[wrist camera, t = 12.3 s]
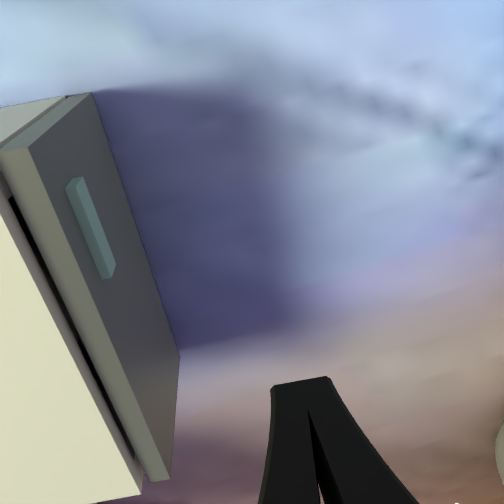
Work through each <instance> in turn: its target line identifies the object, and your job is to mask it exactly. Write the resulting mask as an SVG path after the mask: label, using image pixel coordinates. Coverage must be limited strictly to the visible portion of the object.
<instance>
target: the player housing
mask: <svg viewBox="0 0 504 504" xmlns="http://www.w3.org/2000/svg"><path fill="white" fill-rule="evenodd" d="M65 99H66V97H65V96H60V97H55V98H50V99H44V100H39V101H34V102H28V103H23V104H18V105H13V106H7V107H2V108H0V148H2V147H3V146H4V145H6V144H7V143H8V142H10V141H11V140H12V139H14V138H15V137H16V136H18V135H19V134H20V133H22V132H23V131H24V130H26V129H27V128H28V127H30V126H31V125H32V124H34V123H35V122H36V121H38V120H39V119H40V118H42V117H43V116H44V115H45V114H47V113H48V112H49V111H51V110H52V109H53V108H55V107H56V106H57V105H59V104H60V103H61V102H63V101H64V100H65ZM12 195H13V194H12V192H11V190H10V188H9V185H8V183H7V181H6V179H5V177H4V175H3V173H2V171H1V169H0V504H90V503H96V502H102V501H107V500H113V499H118V498H124V497H129V496H135V495H140V494H141V491H142V483H143V476H144V470H143V468H142V466H141V464H140V461H139V459H138V457H137V455H136V453H135V451H134V449H133V447H132V445H131V443H130V440H129V438H128V436H127V434H126V432H125V430H124V428H123V426H122V424H121V421H120V419H119V417H118V415H117V413H116V411H115V409H114V407H113V405H112V402H111V400H110V398H109V396H108V394H107V392H106V390H105V388H104V386H103V384H102V381H101V379H96V380H95V379H94V377H93V375H92V373H91V371H90V369H89V366H88V364H87V362H86V360H85V358H84V356H83V354H82V352H81V350H80V348H79V346H78V344H77V342H76V340H75V338H74V335H73V333H72V331H71V329H70V327H69V325H68V323H67V321H66V319H65V317H64V315H63V313H62V311H61V309H60V307H59V304H58V302H57V300H56V298H55V296H54V294H53V292H52V290H51V288H50V286H49V284H48V282H47V280H46V278H45V276H44V273H43V271H42V269H41V267H40V265H39V263H38V261H37V259H36V257H35V255H34V253H33V251H32V249H31V247H30V245H29V242H28V240H27V238H26V236H25V234H24V232H23V230H22V228H21V226H20V224H19V222H18V220H17V218H16V216H15V214H14V211H13V209H12V207H11V205H10V203H9V201H8V199H9V198H10V197H11V196H12Z"/></svg>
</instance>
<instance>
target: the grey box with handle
mask: <svg viewBox="0 0 504 504" xmlns="http://www.w3.org/2000/svg"><path fill="white" fill-rule="evenodd" d="M0 169H1V171H2V173H3V175H4V177H5V179H6V181H7V183H8V185H9V188H10V190H11V192H12V194H13V195H12V196H11V197H10V198H9V199H8V201H9V203H10V205H11V207H12V209H13V211H14V214H15V216H16V218H17V220H18V222H19V224H20V226H21V228H22V230H23V232H24V234H30V235H32V236H33V238H34V240H35V242H36V244H37V247H38V249H39V251H40V253H41V255H42V257H43V259H44V261H45V263H46V266H47V268H48V270H49V272H50V274H51V276H52V278H53V280H54V282H55V284H56V287H57V289H58V291H59V293H60V295H61V297H62V299H63V301H64V303H65V306H66V308H67V310H68V312H69V314H70V316H71V318H72V320H73V322H74V325H75V327H76V329H77V331H78V333H79V335H80V337H79V340H78V342H77V344H78V346H79V348H80V350H81V352H82V354H83V356H84V358H85V360H86V362H87V364H88V366H89V369H90V371H91V373H92V375H93V377H94V379H95V380H96V379H101V381H102V384H103V386H104V388H105V390H106V392H107V394H108V396H109V398H110V400H111V402H112V405H113V407H114V409H115V411H116V413H117V415H118V417H119V419H120V421H121V424H122V426H123V428H124V430H125V432H126V434H127V436H128V438H129V440H130V443H131V445H132V447H133V449H134V451H135V453H136V455H137V457H138V459H139V461H140V464H141V466H142V468H143V470H144V472H145V474H146V476H147V478H148V480H149V483H152V482H157V481H163V480H168V479H170V478H171V465H172V452H173V439H174V426H175V413H176V400H177V387H178V375H179V362H180V356H179V353H178V350H177V347H176V344H175V341H174V338H173V335H172V332H171V329H170V326H169V323H168V320H167V317H166V314H165V311H164V308H163V305H162V302H161V299H160V296H159V293H158V290H157V287H156V284H155V281H154V278H153V275H152V272H151V269H150V266H149V263H148V260H147V257H146V254H145V251H144V248H143V245H142V242H141V239H140V236H139V233H138V230H137V227H136V224H135V221H134V218H133V215H132V212H131V209H130V206H129V203H128V200H127V197H126V194H125V191H124V188H123V185H122V182H121V179H120V176H119V173H118V170H117V167H116V164H115V161H114V158H113V155H112V152H111V149H110V146H109V143H108V140H107V137H106V134H105V131H104V128H103V125H102V122H101V119H100V116H99V113H98V110H97V107H96V104H95V101H94V98H93V95H92V92H90V93H85V94H79V95H74V96H69V97H68V98H67V99H65V100H64V101H63V102H61V103H60V104H59V105H57V106H56V107H55V108H53V109H52V110H51V111H49V112H48V113H47V114H45V115H44V116H43V117H42V118H40V119H39V120H38V121H36V122H35V123H34V124H32V125H31V126H30V127H28V128H27V129H26V130H24V131H23V132H22V133H20V134H19V135H18V136H16V137H15V138H14V139H12V140H11V141H10V142H8V143H7V144H6V145H4V146H3V147H2V148H0Z"/></svg>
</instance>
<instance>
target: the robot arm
mask: <svg viewBox="0 0 504 504" xmlns="http://www.w3.org/2000/svg"><path fill="white" fill-rule="evenodd" d="M270 393H271V420H270V432H269V442H268V449H267V455H266V462H265V469H264V475H263V480H262V485H261V490H260V495H259V500H258V504H321V502H320V495H319V487H320V490H321V494H322V497H323V500H324V503H325V504H419V503H418V502H417V500H416V499H415V498H414V497H413V496H412V495H411V493H410V492H409V491H408V490H407V489H406V487H405V486H404V485H403V484H402V482H401V481H400V480H399V479H398V478H397V476H396V475H395V474H394V473H393V471H392V470H391V469H390V468H389V466H388V465H387V464H386V463H385V461H384V460H383V459H382V457H381V456H380V455H379V453H378V452H377V451H376V449H375V448H374V447H373V445H372V444H371V443H370V441H369V440H368V438H367V437H366V436H365V434H364V433H363V431H362V430H361V429H360V427H359V426H358V424H357V423H356V421H355V420H354V418H353V417H352V415H351V414H350V412H349V411H348V409H347V407H346V406H345V404H344V403H343V401H342V399H341V397H340V396H339V394H338V392H337V390H336V388H335V387H334V385H333V383H332V380H331V379H330V378H328V377H327V376H323V377H317V378H312V379H306V380H301V381H295V382H290V383H284V384H279V385H274V386H273V387H272V388H271V389H270ZM318 484H319V487H318ZM90 504H97V503H90Z"/></svg>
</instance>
